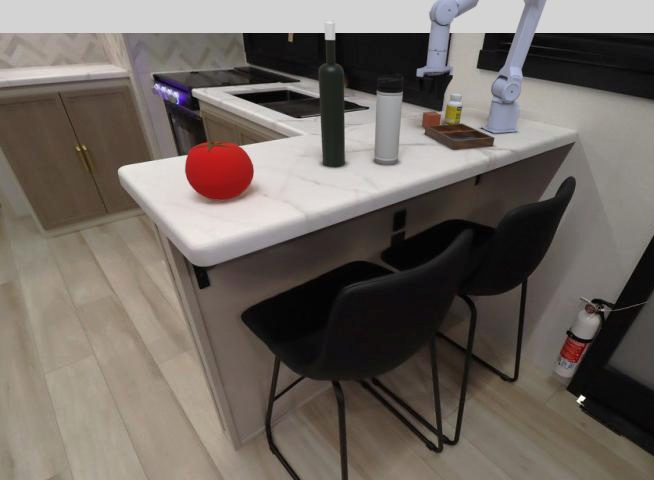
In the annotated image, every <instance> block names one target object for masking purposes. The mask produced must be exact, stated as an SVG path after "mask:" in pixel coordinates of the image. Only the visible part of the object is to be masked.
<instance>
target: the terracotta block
mask: <svg viewBox="0 0 654 480" xmlns="http://www.w3.org/2000/svg"><path fill="white" fill-rule="evenodd" d="M441 119H442V114H440V113H438V112H436V111H426V112H425V111H424V112H423V113H422V120H421V127H422V128H424V129H425V126H432V125H441Z"/></svg>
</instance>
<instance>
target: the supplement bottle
mask: <svg viewBox="0 0 654 480" xmlns="http://www.w3.org/2000/svg"><path fill="white" fill-rule="evenodd" d="M449 99H450V100H448V101H447V102H446V107H445V113H444V118H443V119H444V120H443V125H447V124H461V123H460V122H461V116H462V111H463V106H464V105H463V102H462V99H463V94H462V93H454V92H453V93H450V94H449Z"/></svg>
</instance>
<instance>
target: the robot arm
mask: <svg viewBox="0 0 654 480" xmlns="http://www.w3.org/2000/svg"><path fill="white" fill-rule="evenodd" d="M479 1H480V0H436V1H435V2H434V3H433V4H432V5H431V6H430V7H431V8H430V10H429V12H428V16H429V21H430V31H429V36H428V39H429V40H428V47H427V59H426V65H424V67H420V68H417V69H416V75H415V81H416V84H417V87H418V92H419V97H420V98H419V99H420V102H421V103H424V104H427V103H428V100H429V94H430V89H431V86H432V83H433V81H434V78H432V77H430V76H435V78H436V93H435V95H436V97H435V98H436V100H438V101H443V100H444V97H445V94H446V92H447V90H448V87H449V85H450V83H451V81H452V80H453V79H454V75H453V72H454V66H451V65H446V63H447V55H448V48H449V40H450V32H451V24H452V22H454V19H456V18H458V17H460V16H461V15H464V14H465V13H467V12H469V11H470V10H472V9H474V8H476V7H477V5H478V4H479ZM523 2H524V7H523V10H522V13H521V15H520V19H519V22H518V25H517V28H516V29H515V34H514V36H513V40H512V42H511V45H510V48H509V51H508V54H507V57H506V60H505V63H504V65H503V67H502V68H501V69H499V71H498V73H497V77H495V79H494V80H493V81H492V84H491V86H490V92H491V94H492V98H491V101H490V102H491V103H490V108H489V112H488V117H487V123H486V125H482V126H480V128H481V129H483V130H485V131H488V132H490V133H492V134H503V133H515V132H517V131H518V130H517V125H518V120H519V117H520V113H521V105H520V103H519V102H518V101H517V99H519V97H520V95H521V92H522V82H523V79H524V76H523V71H522V69H523V66H524V63H525V61H526V58H527V55H528V52H529V49H530V47H531V44H532V41H533V39H534V36H535V33H536V30H537V28H538V25H539V22H540V20H541V18H542V17H541V16H542V14H543V11H544V8H545V6H546V3H547V0H523Z"/></svg>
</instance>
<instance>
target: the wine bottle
mask: <svg viewBox="0 0 654 480" xmlns="http://www.w3.org/2000/svg"><path fill="white" fill-rule="evenodd" d="M324 40H325V56H326V57H325V58H326V59H325V61H326V63H323V64H322V65H320V66H319V68H318V92H319V112H320V114H319V115H320V130H321V132H320V134H321V135H320V137H321V155H322V157H321V158H322V165H323V166H324V167H327V168H340V167H343V166H345V165H346V135H345V134H346V133H345V128H346V127H345V123H346V121H345V71H344V69H343V66H342V65H340V64H338V63H336V23H335V20H333V19H326V20H325V22H324Z"/></svg>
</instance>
